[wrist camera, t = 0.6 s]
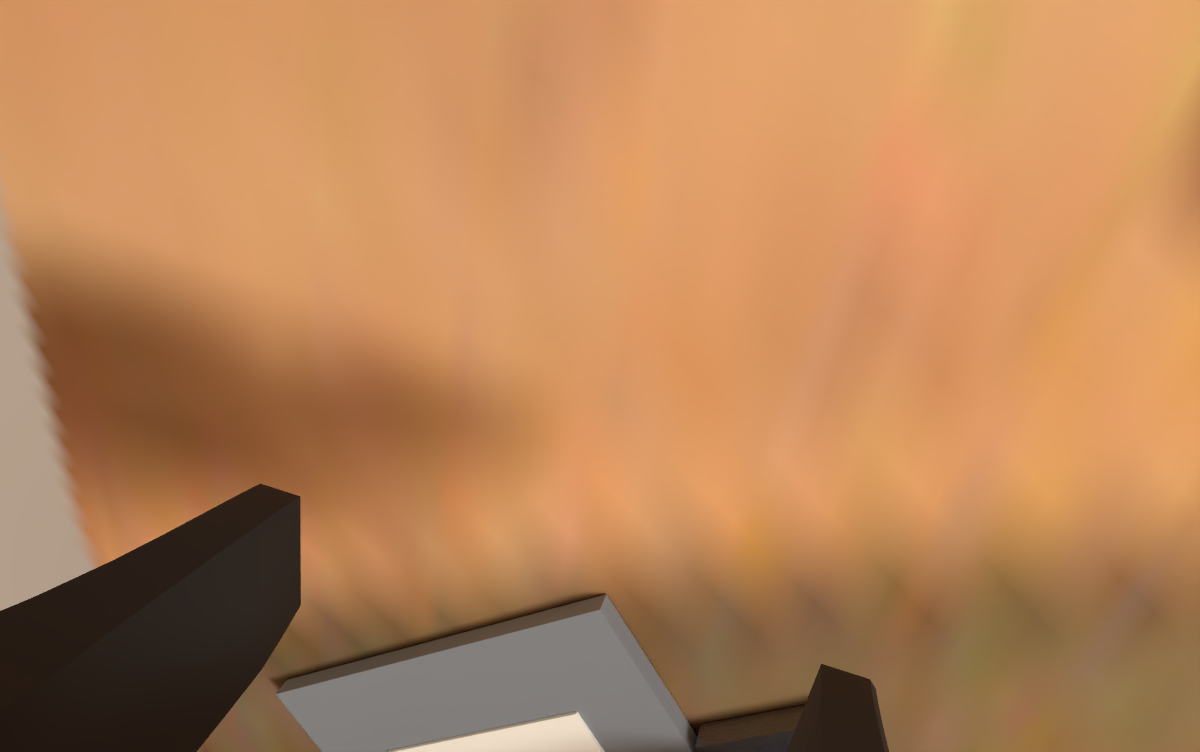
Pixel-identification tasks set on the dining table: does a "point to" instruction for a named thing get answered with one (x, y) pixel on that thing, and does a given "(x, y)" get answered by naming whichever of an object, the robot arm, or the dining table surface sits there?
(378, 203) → the dining table surface
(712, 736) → the arm mount
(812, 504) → the dining table surface
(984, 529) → the dining table surface
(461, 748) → the label plate
